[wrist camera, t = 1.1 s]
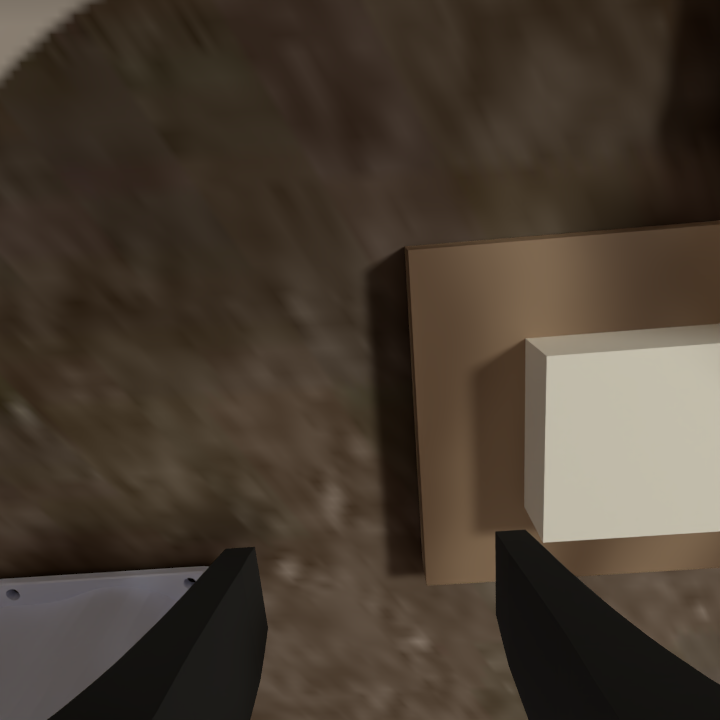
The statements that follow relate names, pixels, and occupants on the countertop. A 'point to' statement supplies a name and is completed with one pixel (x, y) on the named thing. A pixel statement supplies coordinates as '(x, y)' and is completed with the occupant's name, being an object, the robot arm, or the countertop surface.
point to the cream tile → (623, 433)
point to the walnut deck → (507, 376)
